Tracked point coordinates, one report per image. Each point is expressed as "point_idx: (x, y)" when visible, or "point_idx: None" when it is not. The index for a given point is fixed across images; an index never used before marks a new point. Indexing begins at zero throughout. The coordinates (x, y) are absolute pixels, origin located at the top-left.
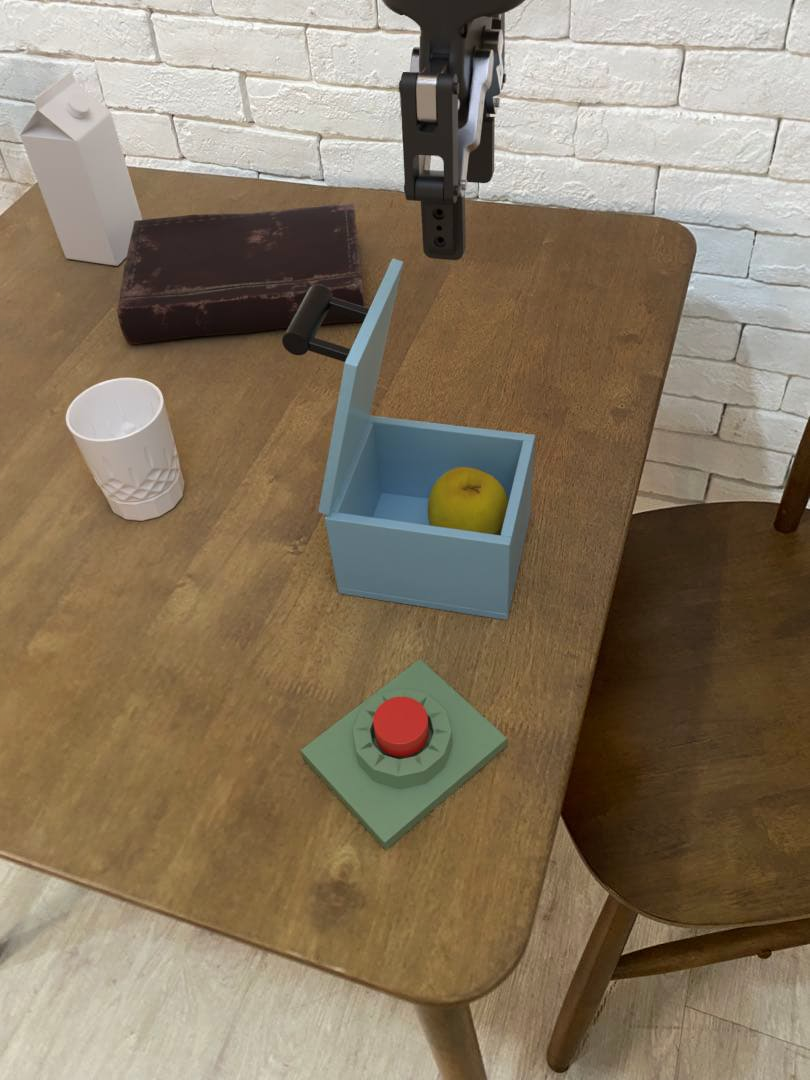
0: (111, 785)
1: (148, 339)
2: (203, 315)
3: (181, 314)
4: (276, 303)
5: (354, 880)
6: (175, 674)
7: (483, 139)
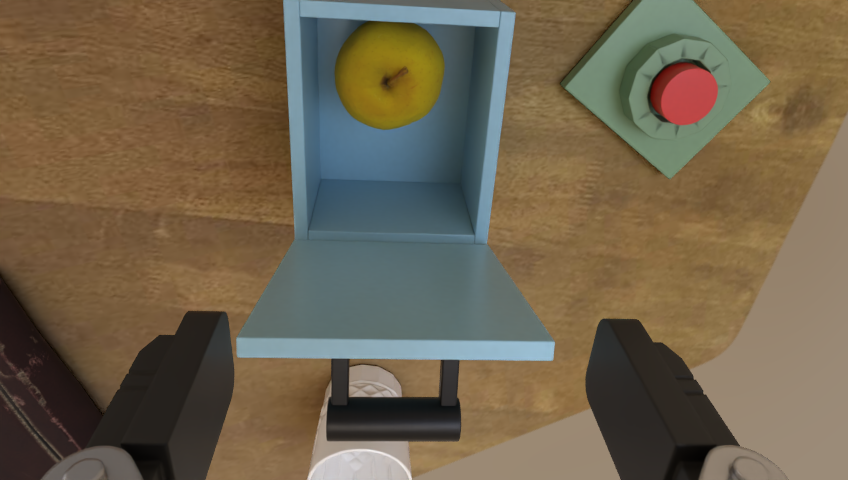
0: (680, 310)
1: None
2: None
3: None
4: (42, 383)
5: (784, 99)
6: (573, 301)
7: (193, 418)
